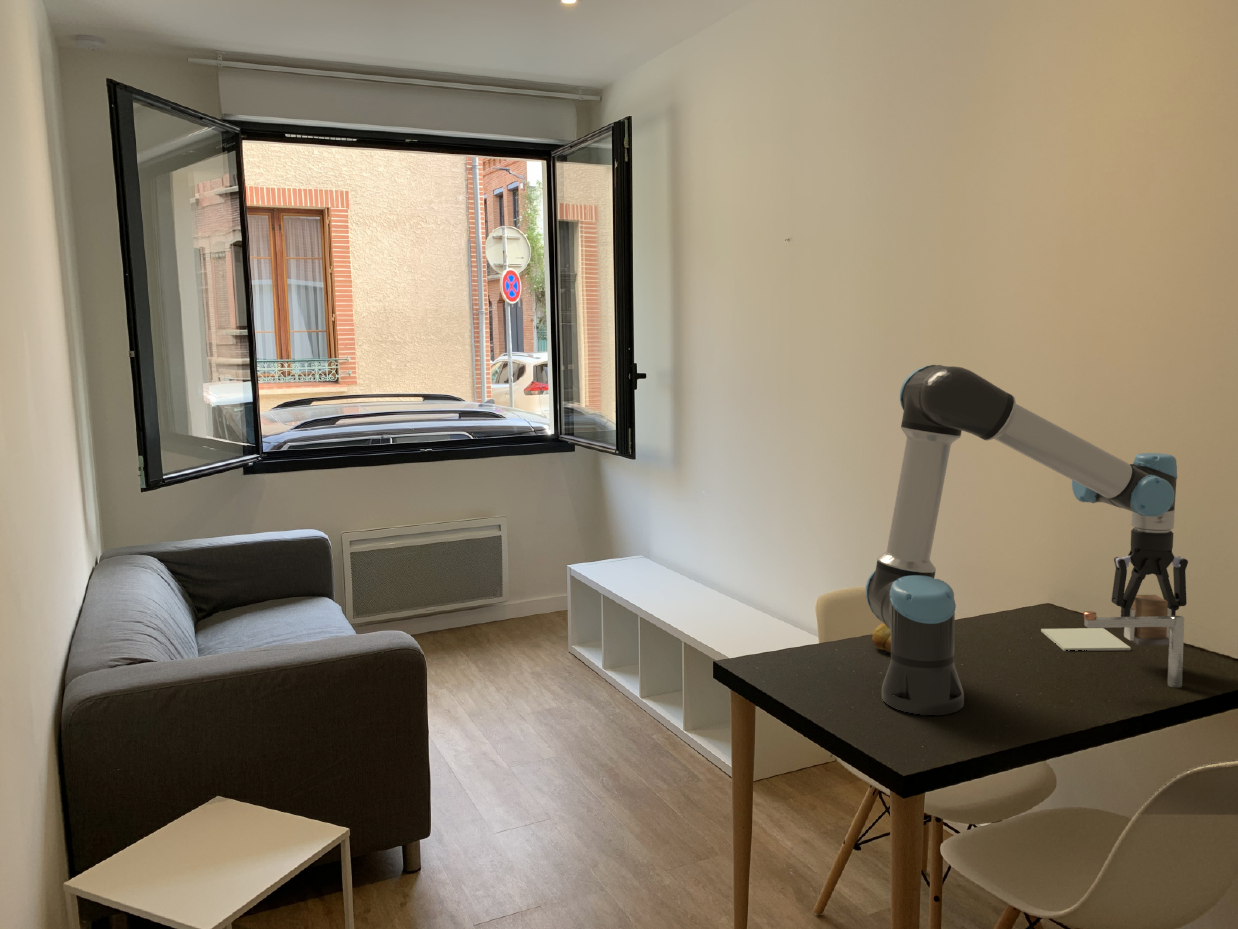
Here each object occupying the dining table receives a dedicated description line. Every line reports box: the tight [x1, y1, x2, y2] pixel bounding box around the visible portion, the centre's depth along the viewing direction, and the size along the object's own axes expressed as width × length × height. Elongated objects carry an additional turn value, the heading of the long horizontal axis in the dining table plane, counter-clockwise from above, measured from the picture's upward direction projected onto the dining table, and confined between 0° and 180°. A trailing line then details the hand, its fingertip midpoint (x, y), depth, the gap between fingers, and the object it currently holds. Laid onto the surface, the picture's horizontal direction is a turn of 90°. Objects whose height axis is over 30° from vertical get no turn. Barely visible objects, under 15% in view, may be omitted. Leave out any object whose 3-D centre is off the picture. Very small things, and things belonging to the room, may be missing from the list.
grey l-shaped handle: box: [1083, 610, 1185, 689], centre depth 182 cm, size 2×19×15 cm, turn 85°
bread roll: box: [871, 622, 891, 654], centre depth 208 cm, size 13×10×8 cm
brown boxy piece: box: [1131, 594, 1169, 646], centre depth 192 cm, size 6×6×9 cm
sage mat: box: [1040, 627, 1132, 652], centre depth 210 cm, size 14×14×1 cm
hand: (1146, 638), depth 192 cm, fingers closed on brown boxy piece, 6 cm apart
